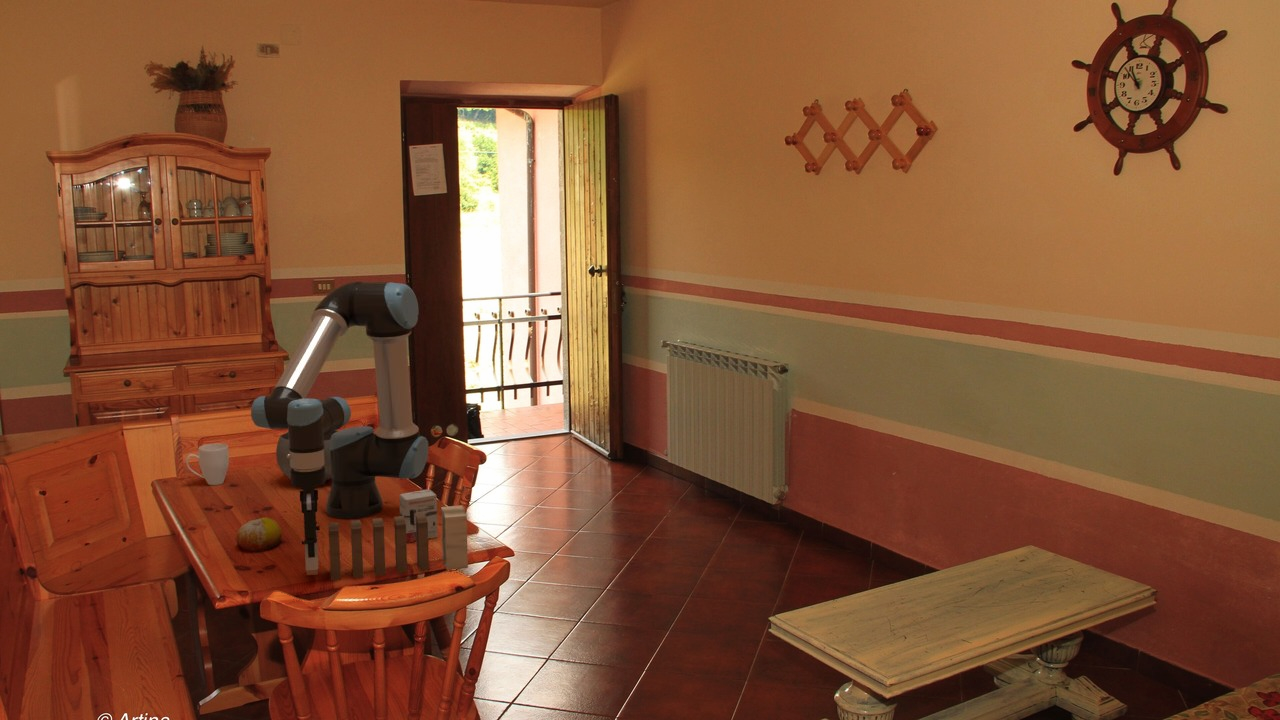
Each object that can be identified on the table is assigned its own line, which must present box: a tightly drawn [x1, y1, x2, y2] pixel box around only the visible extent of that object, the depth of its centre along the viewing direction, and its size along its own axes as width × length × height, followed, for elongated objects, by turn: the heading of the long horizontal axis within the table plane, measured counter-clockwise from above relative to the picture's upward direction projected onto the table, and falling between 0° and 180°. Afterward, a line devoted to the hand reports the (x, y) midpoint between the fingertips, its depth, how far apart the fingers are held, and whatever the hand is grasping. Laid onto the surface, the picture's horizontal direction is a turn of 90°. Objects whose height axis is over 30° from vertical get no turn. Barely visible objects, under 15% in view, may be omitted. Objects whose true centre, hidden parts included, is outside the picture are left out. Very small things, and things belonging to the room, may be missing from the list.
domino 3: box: [350, 519, 364, 579], centre depth 231 cm, size 6×2×12 cm, turn 18°
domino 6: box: [415, 514, 430, 572], centre depth 236 cm, size 6×2×12 cm, turn 18°
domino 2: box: [327, 521, 342, 582], centre depth 230 cm, size 6×2×12 cm, turn 18°
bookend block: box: [440, 504, 469, 571], centre depth 238 cm, size 8×5×13 cm, turn 18°
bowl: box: [275, 430, 339, 481], centre depth 302 cm, size 20×20×15 cm
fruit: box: [235, 516, 283, 553], centre depth 249 cm, size 11×10×8 cm
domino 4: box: [372, 517, 387, 577], centre depth 233 cm, size 6×2×12 cm, turn 18°
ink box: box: [399, 488, 438, 543], centre depth 255 cm, size 8×5×12 cm, turn 123°
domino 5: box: [393, 515, 408, 575], centre depth 234 cm, size 6×2×12 cm, turn 18°
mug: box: [185, 442, 230, 486], centre depth 298 cm, size 12×8×11 cm
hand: (312, 563), depth 229 cm, fingers closed on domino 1, 6 cm apart
